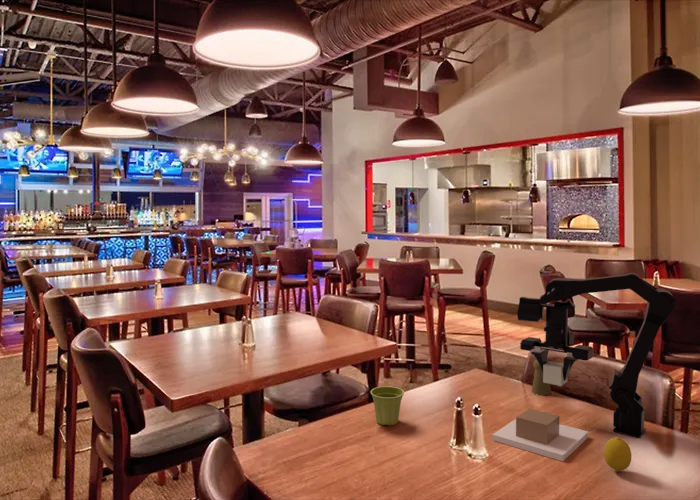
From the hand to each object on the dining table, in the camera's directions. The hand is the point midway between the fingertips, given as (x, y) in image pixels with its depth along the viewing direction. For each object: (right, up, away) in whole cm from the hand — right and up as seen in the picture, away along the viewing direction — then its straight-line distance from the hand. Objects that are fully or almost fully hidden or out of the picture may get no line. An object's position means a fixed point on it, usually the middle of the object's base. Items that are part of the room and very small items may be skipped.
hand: (555, 378), depth 149 cm
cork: (+5, -11, +24) cm, 26 cm away
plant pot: (-47, -13, 0) cm, 49 cm away
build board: (-8, -13, -12) cm, 19 cm away
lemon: (+2, -14, -29) cm, 33 cm away
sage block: (0, -1, 0) cm, 1 cm away
